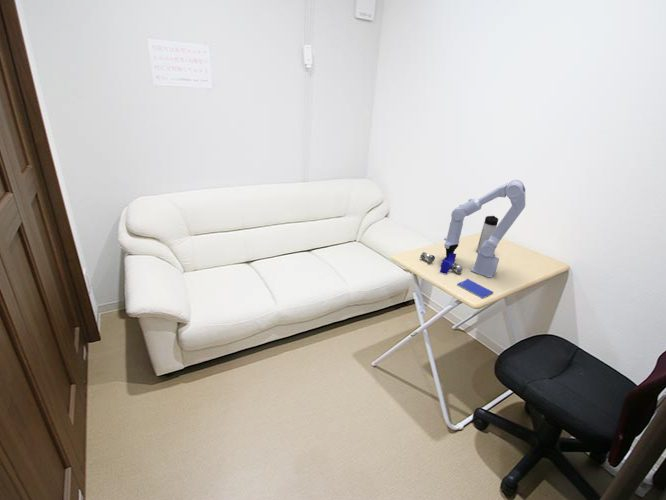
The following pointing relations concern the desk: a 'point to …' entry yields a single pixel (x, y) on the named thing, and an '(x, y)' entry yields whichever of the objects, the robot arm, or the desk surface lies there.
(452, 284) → the desk surface
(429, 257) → the shaft
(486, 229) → the travel mug
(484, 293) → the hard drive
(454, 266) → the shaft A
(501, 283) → the desk surface
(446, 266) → the cable clip
